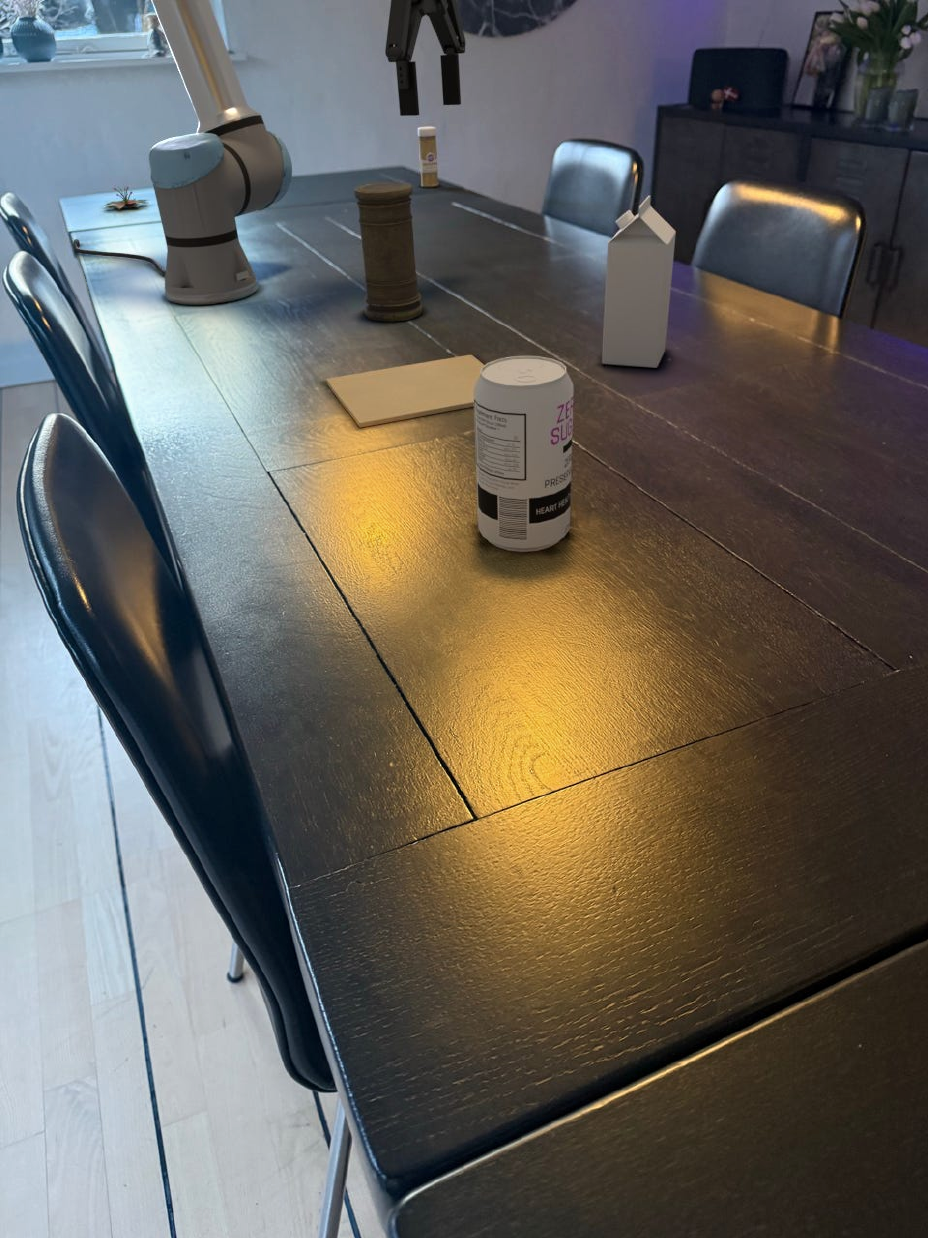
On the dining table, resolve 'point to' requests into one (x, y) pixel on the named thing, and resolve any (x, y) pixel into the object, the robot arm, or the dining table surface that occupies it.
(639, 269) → the milk carton
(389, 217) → the container
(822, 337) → the dining table surface
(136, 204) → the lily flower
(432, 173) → the sprinkles bottle
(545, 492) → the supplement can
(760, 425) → the dining table surface
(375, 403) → the mat
